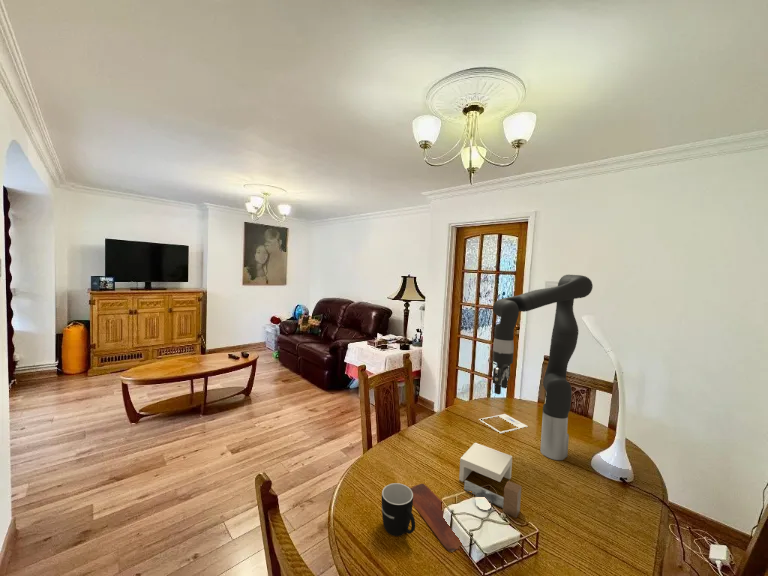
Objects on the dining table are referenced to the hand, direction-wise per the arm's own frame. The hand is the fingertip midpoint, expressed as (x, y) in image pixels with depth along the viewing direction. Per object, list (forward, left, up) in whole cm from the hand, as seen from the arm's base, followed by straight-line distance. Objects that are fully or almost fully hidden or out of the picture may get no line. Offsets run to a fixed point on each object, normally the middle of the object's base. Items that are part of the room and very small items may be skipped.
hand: (500, 390), depth 125 cm
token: (+19, +22, -28) cm, 40 cm away
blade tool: (+16, +21, -28) cm, 38 cm away
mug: (+48, +27, -28) cm, 62 cm away
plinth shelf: (+11, +10, -28) cm, 32 cm away
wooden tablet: (+35, +22, -29) cm, 51 cm away
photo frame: (-21, -28, -29) cm, 45 cm away
